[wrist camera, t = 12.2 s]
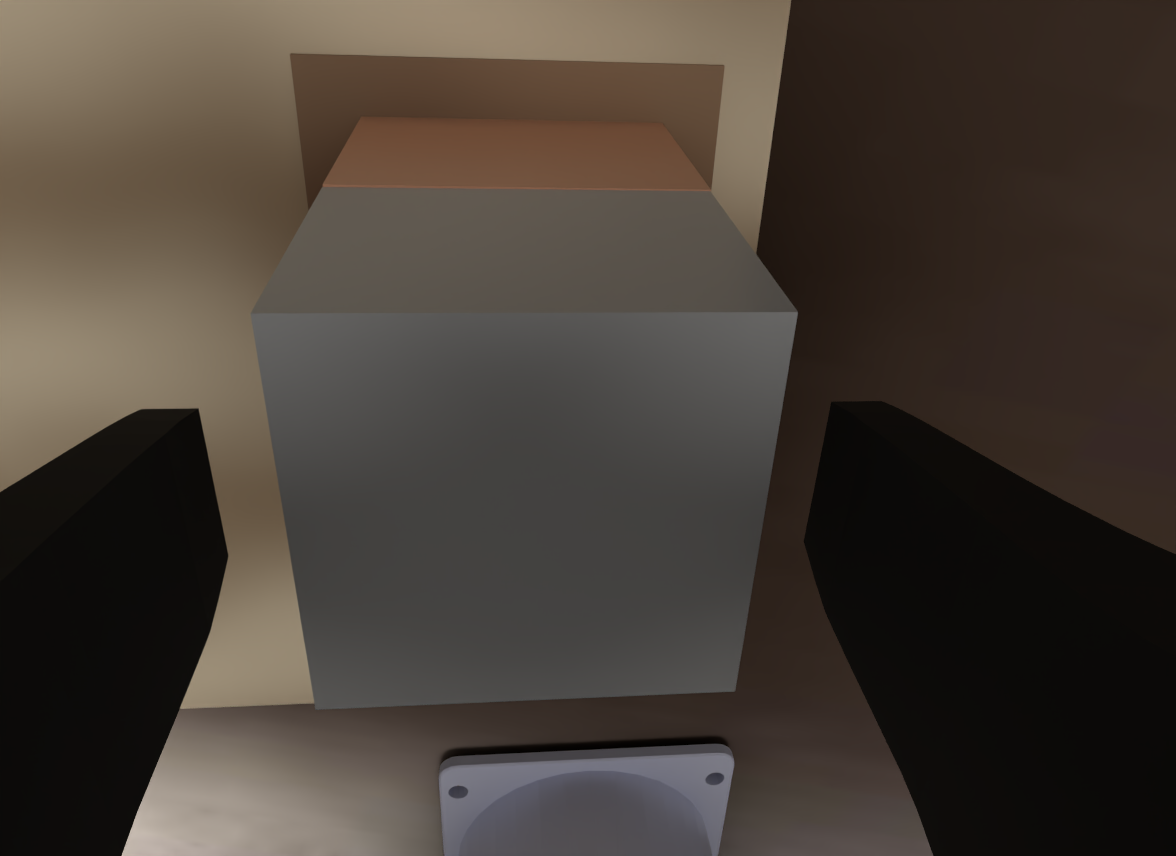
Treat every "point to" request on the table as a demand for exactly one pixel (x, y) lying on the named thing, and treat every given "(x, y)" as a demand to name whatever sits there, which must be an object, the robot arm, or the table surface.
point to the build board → (283, 206)
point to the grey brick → (521, 440)
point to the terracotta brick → (512, 155)
